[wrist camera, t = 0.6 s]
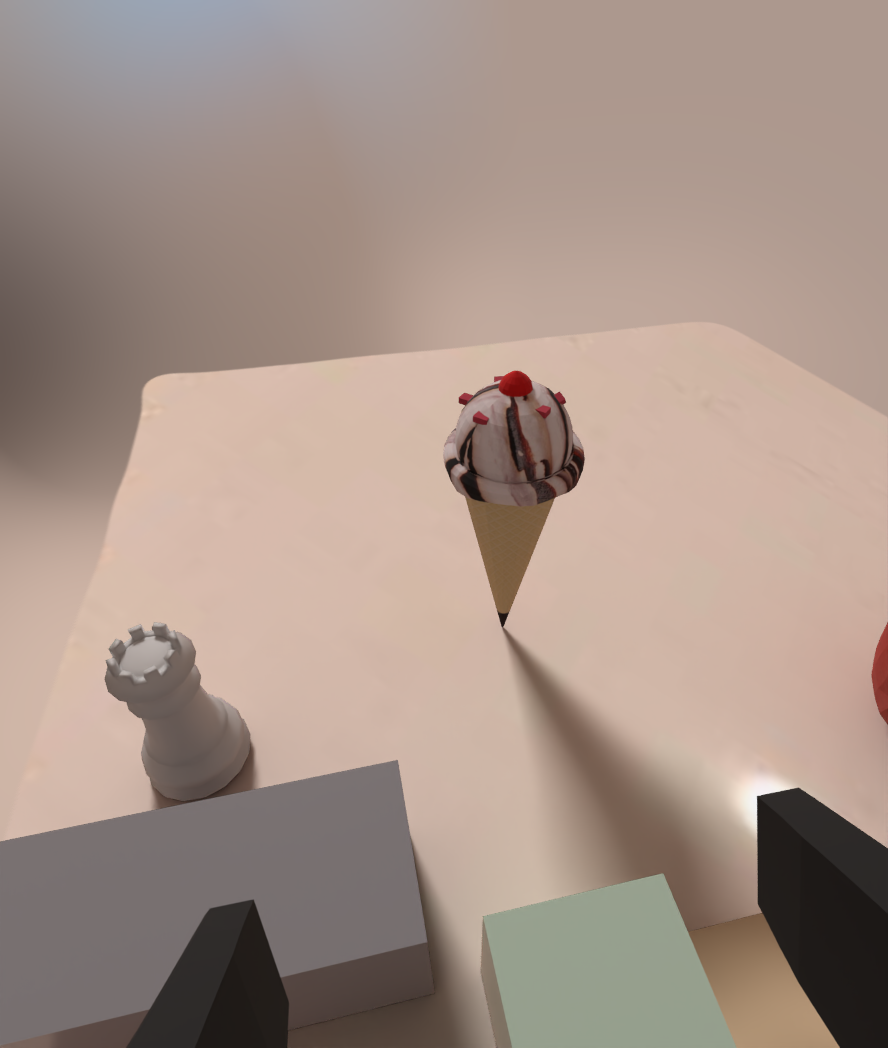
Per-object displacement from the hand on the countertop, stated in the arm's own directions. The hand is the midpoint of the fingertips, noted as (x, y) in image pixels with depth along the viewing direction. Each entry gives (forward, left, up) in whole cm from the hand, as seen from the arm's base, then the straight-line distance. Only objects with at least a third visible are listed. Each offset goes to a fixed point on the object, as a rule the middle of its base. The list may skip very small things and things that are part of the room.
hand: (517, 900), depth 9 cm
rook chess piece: (+14, +10, -17) cm, 24 cm away
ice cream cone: (+18, -5, -17) cm, 25 cm away
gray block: (+6, +8, -17) cm, 20 cm away
